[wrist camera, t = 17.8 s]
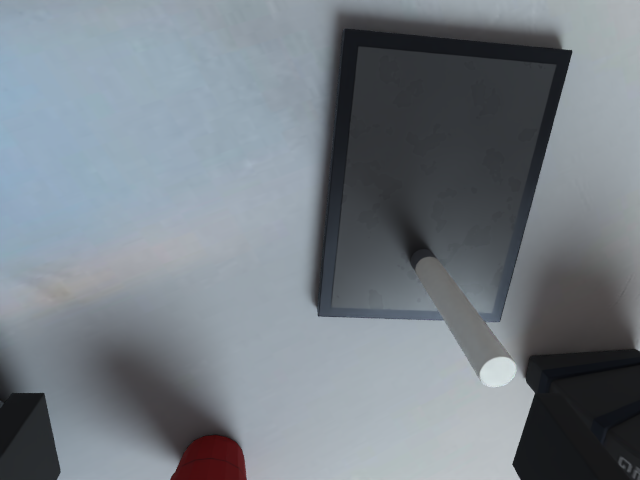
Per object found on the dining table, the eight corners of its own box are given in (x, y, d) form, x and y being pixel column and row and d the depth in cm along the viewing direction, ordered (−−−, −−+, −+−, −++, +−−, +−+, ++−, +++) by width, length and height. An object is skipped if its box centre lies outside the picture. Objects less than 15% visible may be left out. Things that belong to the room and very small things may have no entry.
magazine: (503, 365, 41) (699, 494, 29) (591, 323, 47) (783, 414, 35) (498, 398, 42) (683, 534, 30) (584, 353, 48) (766, 451, 36)
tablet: (342, 29, 31) (345, 28, 30) (563, 50, 32) (574, 50, 31) (316, 309, 39) (317, 317, 38) (494, 315, 41) (500, 323, 39)
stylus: (412, 248, 36) (483, 356, 23) (436, 249, 36) (521, 357, 23) (408, 270, 37) (475, 387, 24) (432, 271, 37) (511, 388, 24)
